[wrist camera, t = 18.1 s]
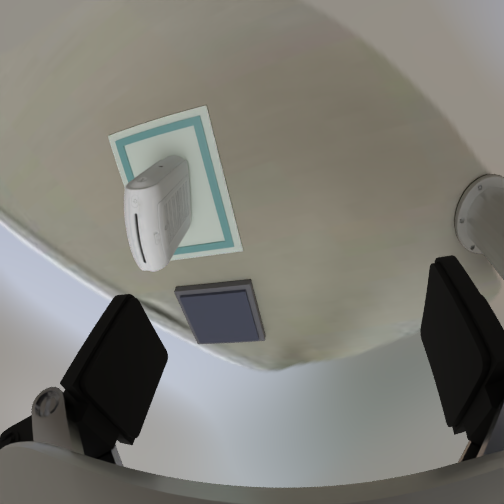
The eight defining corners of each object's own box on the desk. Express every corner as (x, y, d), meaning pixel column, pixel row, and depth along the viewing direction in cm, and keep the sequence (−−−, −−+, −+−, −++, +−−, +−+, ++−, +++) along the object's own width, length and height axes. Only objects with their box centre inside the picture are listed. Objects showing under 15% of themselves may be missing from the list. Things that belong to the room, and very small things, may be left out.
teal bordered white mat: (206, 105, 33) (205, 105, 33) (243, 250, 43) (242, 252, 43) (108, 135, 36) (106, 136, 35) (154, 261, 46) (153, 263, 45)
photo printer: (157, 154, 37) (110, 188, 26) (190, 153, 36) (151, 188, 26) (164, 226, 42) (128, 279, 32) (194, 227, 42) (164, 283, 31)
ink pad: (250, 279, 46) (249, 286, 44) (265, 335, 51) (264, 343, 50) (176, 286, 48) (173, 294, 46) (199, 339, 54) (197, 346, 52)
